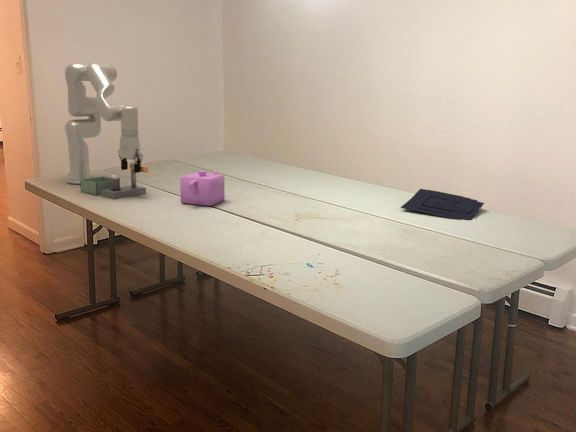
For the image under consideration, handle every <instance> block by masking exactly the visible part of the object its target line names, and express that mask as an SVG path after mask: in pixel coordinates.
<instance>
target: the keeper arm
mask: <svg viewBox="0 0 576 432" xmlns="http://www.w3.org/2000/svg"><path fill="white" fill-rule="evenodd" d="M134 164H135V163H134V162H129V169H130V170H131V169H134ZM140 165H141V166H140V168H141V172H140V173H143V174H145V173H149V166H148V165H147V166H146V165H143V164H140Z"/></svg>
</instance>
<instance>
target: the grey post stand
mask: <svg viewBox="0 0 576 432" xmlns="http://www.w3.org/2000/svg"><path fill="white" fill-rule="evenodd" d="M130 183H131V184H130V185H123V186H120V191H112V188H110V189H103V190H101V195H100V197H102V198H106V199H110V200H117V199H119V200H120V199H122V198H123V199H124V198H130V197H135V196H141V195H147V192H146V191H147V188H146V187H145V186H140V185H137V173H134V169H130Z"/></svg>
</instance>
